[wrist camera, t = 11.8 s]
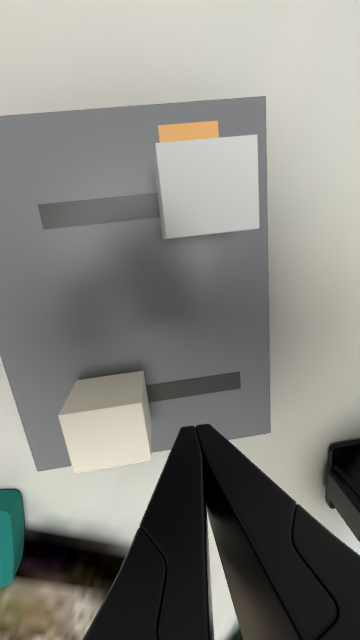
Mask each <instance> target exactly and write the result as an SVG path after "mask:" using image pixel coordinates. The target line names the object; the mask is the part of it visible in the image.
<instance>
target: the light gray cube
mask: <svg viewBox="0 0 360 640" xmlns="http://www.w3.org/2000/svg"><path fill="white" fill-rule="evenodd" d="M154 171H155V179H156V187H157V196H158V204H159V212H160V221H161V229H162V237H163V239H172V238H181V237H190V236H199V235H208V234H217V233H226V232H235V231H243V230H251V229H258V228H259V186H258V142H257V134H256V135H244V136H232V137H221V138H209V139H197V140H186V141H174V142H162V143H155V160H154Z"/></svg>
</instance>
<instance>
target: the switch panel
mask: <svg viewBox="0 0 360 640" xmlns="http://www.w3.org/2000/svg"><path fill="white" fill-rule="evenodd" d="M256 134H257V142H258V186H259V228H258V229H251V230H243V231H235V232H226V233H217V234H208V235H199V236H190V237H181V238H172V239H163V237H162V229H161V221H160V212H159V204H158V196H157V187H156V179H155V171H154V160H155V143H162V142H174V141H186V140H197V139H209V138H221V137H232V136H244V135H256ZM0 355H1V359H2V362H3V365H4V368H5V371H6V374H7V377H8V381H9V384H10V387H11V390H12V393H13V396H14V399H15V403H16V406H17V409H18V412H19V415H20V418H21V421H22V424H23V428H24V431H25V434H26V437H27V440H28V443H29V446H30V450H31V453H32V456H33V459H34V462H35V465H36V468H37V472H38V471H44V470H50V469H56V468H62V467H68V466H72V465H71V461H70V457H69V453H68V450H67V446H66V442H65V439H64V435H63V431H62V428H61V424H60V420H59V417H58V415H59V413H60V411H61V409H62V407H63V406H64V404H65V402H66V400H67V398H68V396H69V394H70V392H71V390H72V389H73V387H74V385H75V383H76V381H77V380H82V379H89V378H95V377H102V376H109V375H116V374H123V373H130V372H137V371H144V377H145V383H146V390H147V396H148V402H149V409H150V415H151V453H152V452H158V451H164V450H170V449H172V447H173V445H174V442H175V440H176V437H177V435H178V433H179V430H180V428H181V427H184V426H192V425H193V426H195V427H196V425H200V424H210V425H211V426H213V427H214V428H215V429H216V430H217V431H218V432H219V433H220V434H221V435H223V436H224V437H225V438H226V439H227V440H230V439H236V438H242V437H248V436H254V435H260V434H266V433H271V428H270V361H269V293H268V225H267V157H266V96H261V97H247V98H234V99H221V100H207V101H194V102H181V103H167V104H154V105H141V106H128V107H114V108H101V109H88V110H74V111H61V112H48V113H34V114H21V115H8V116H0Z"/></svg>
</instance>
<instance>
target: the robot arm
mask: <svg viewBox="0 0 360 640" xmlns="http://www.w3.org/2000/svg"><path fill="white" fill-rule="evenodd" d="M326 503H327V504H328V506H329V507H330V508H332V509H334V508H336V509H337V511H338V512H339V514H340V515H341V517H342V518H343V519H344V521H345V522H346V524H347V525H348V527H349V528H350V529H351V531H352V532H353V534H354V535H355V537H356V538H357V539H358V541H359V542H360V440H356V441H350V442H344V443H338V444H334V445H332V446H331V447H330V449H329V461H328V472H327V486H326ZM206 508H207V509H206ZM207 512H208V516H209V520H210V524H211V527H212V531H213V535H214V538H215V542H216V545H217V549H218V552H219V556H220V559H221V563H222V566H223V570H224V573H225V577H226V580H227V584H228V587H229V591H230V594H231V598H232V602H233V605H234V609H235V612H236V616H237V619H238V623H239V626H240V630H241V633H242V637H243V640H360V555H358V554H357V553H356V552H355V551H353V550H352V549H351V548H350V547H348V546H347V545H346V544H345V543H343V542H342V541H341V540H340V539H338V538H337V537H336V536H335V535H333V534H332V533H331V532H330V531H329V530H328V529H326V528H325V527H324V526H323V525H322V524H321V523H319V522H318V521H317V520H316V519H315V518H314V517H312V516H311V515H310V514H309V513H308V512H307V511H306V510H305V509H304V508H303V507H301V506H300V505H299V504H297V505H296V501H295V500H293V499H292V498H291V497H290V496H289V495H288V494H287V493H286V492H285V491H283V490H282V489H281V488H280V487H279V486H278V485H277V484H276V483H275V482H274V481H272V480H271V479H270V478H269V477H268V476H267V475H266V474H265V473H264V472H262V471H261V470H260V469H259V468H258V467H257V466H256V465H255V464H254V463H252V462H251V461H250V460H249V459H248V458H247V457H246V456H245V455H244V454H243V453H241V452H240V451H239V450H238V449H237V448H236V447H235V446H234V445H233V444H231V443H230V442H229V441H228V440H227V439H226V438H225V437H224V436H223V435H221V434H220V433H219V432H218V431H217V430H216V429H215V428H214V427H213V426H211V425H210V424H200V425H196V427H195V426H193V425H192V426H184V427H181V428H180V430H179V433H178V435H177V437H176V440H175V442H174V445H173V447H172V449H171V452H170V454H169V456H168V459H167V461H166V464H165V466H164V468H163V471H162V473H161V476H160V478H159V480H158V483H157V485H156V487H155V490H154V492H153V495H152V497H151V499H150V502H149V504H148V507H147V509H146V511H145V514H144V516H143V518H142V521H141V523H140V528H139V529H138V530H137V532H136V535H135V537H134V539H133V542H132V544H131V547H130V549H129V551H128V553H127V555H126V558H125V560H124V562H123V564H122V566H121V568H120V571H119V573H118V575H117V577H116V579H115V580H114V582H113V584H112V586H111V588H110V590H109V592H108V594H107V596H106V598H105V600H104V602H103V604H102V605H101V607H100V609H99V611H98V613H97V614H96V616H95V618H94V620H93V622H92V624H91V625H90V627H89V629H88V631H87V633H86V635H85V636H84V638H83V640H214V630H213V612H212V594H211V576H210V558H209V540H208V523H207Z"/></svg>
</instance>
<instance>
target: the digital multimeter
mask: <svg viewBox="0 0 360 640" xmlns="http://www.w3.org/2000/svg"><path fill="white" fill-rule="evenodd" d="M24 533H25V530H24V513H23V505H22V499H21V494H20V492H19V491H17V490H0V588H2V587H5V586H8V585H10V584H11V583H12V581H13V579H14V576H15V574H16V572H17V569H18V567H19V564H20V562H21V559H22V557H23V547H24Z"/></svg>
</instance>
